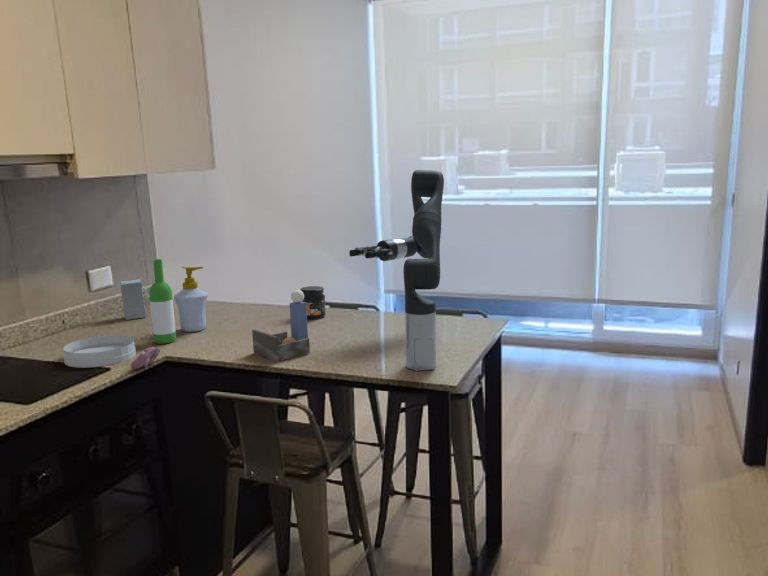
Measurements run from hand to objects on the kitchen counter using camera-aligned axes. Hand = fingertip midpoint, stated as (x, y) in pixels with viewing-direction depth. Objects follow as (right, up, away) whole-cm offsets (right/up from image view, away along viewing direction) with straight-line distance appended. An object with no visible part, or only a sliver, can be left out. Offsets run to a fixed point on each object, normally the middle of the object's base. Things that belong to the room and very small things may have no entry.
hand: (357, 254), depth 222 cm
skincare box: (-96, -24, +49) cm, 111 cm away
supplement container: (-20, -24, +43) cm, 53 cm away
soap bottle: (-65, -28, +26) cm, 75 cm away
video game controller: (-67, -37, -17) cm, 78 cm away
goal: (-25, -33, -8) cm, 42 cm away
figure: (-20, -32, -3) cm, 38 cm away
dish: (-86, -35, -7) cm, 93 cm away
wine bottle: (-70, -31, +10) cm, 78 cm away
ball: (-24, -29, -8) cm, 39 cm away
